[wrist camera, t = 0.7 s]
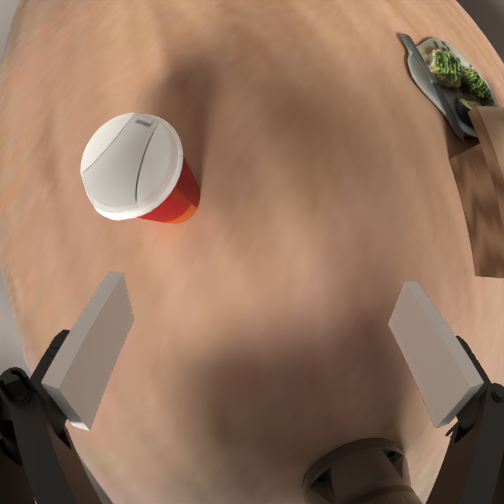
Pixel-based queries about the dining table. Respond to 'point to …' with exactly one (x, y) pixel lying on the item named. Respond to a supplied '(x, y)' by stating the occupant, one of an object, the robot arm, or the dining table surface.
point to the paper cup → (139, 171)
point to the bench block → (484, 190)
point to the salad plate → (448, 82)
